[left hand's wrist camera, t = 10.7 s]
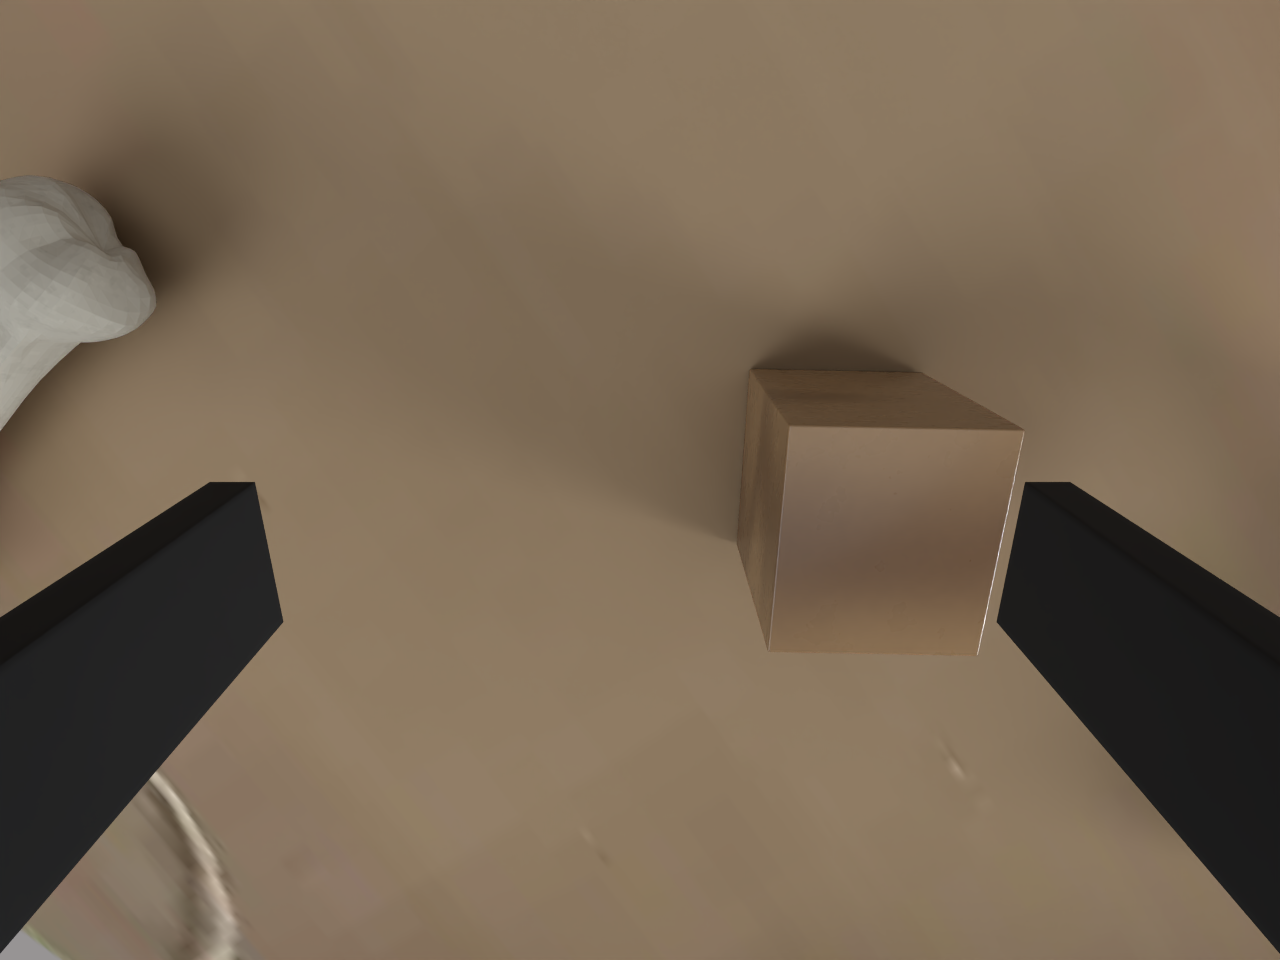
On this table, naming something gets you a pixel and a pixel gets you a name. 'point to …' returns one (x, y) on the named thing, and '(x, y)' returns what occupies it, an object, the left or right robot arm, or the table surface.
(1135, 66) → the table surface
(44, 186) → the dog toy
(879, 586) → the brown cube
